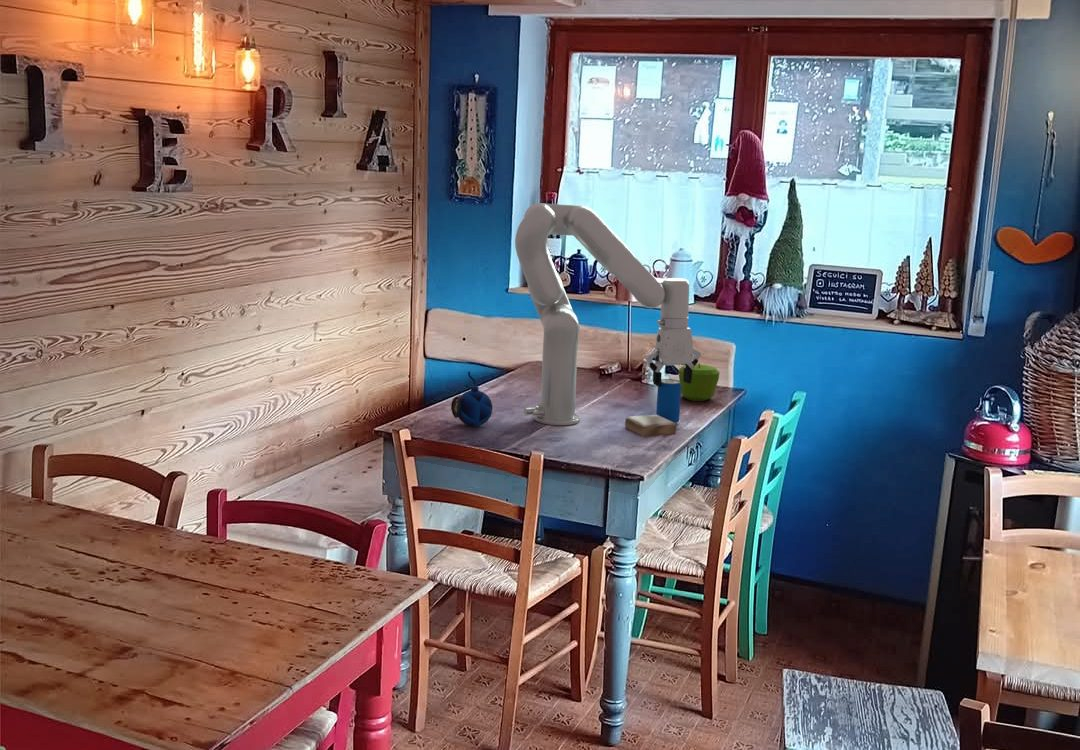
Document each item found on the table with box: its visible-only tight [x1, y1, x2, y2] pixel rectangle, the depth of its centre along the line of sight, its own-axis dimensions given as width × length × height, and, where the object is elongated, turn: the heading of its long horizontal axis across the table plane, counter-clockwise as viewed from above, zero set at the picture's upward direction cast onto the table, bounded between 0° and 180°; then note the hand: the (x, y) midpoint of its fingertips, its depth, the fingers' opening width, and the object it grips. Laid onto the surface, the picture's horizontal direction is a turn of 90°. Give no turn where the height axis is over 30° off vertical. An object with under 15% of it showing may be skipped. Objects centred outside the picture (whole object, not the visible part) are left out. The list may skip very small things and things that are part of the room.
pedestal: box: [624, 414, 677, 437], centre depth 297 cm, size 10×10×3 cm
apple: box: [678, 362, 720, 402], centre depth 337 cm, size 12×12×11 cm
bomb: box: [450, 371, 494, 427], centre depth 293 cm, size 10×11×15 cm
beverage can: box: [655, 378, 682, 425], centre depth 305 cm, size 6×6×12 cm
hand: (672, 384), depth 304 cm, fingers open, 9 cm apart
